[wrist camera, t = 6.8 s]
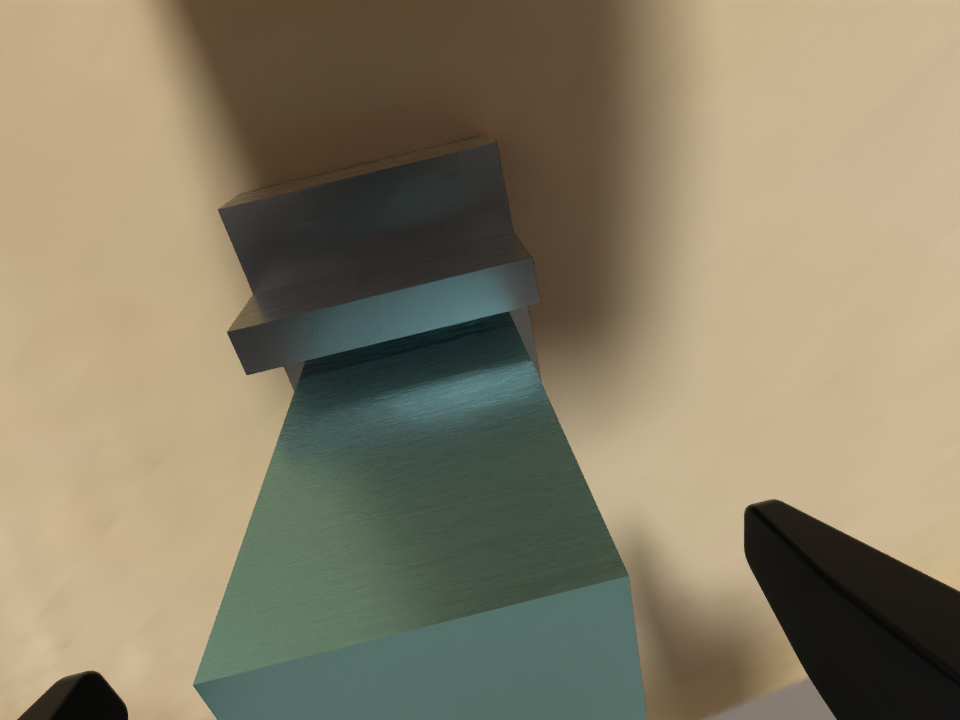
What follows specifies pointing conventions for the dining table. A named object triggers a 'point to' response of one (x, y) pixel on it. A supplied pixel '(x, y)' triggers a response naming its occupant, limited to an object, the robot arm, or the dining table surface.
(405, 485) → the block
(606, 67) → the dining table surface
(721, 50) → the dining table surface
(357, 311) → the rail
